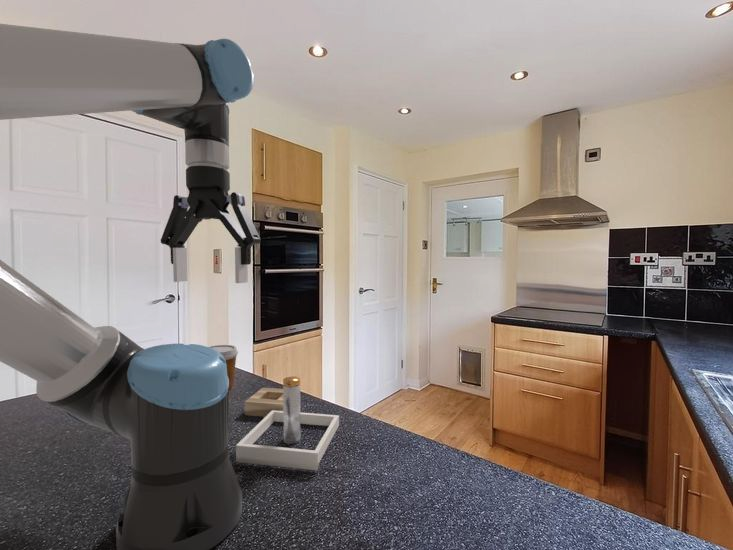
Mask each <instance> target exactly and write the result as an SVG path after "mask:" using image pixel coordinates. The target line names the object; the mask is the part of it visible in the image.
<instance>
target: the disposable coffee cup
mask: <svg viewBox="0 0 733 550" xmlns="http://www.w3.org/2000/svg"><path fill="white" fill-rule="evenodd" d="M209 347H210V348H212V349H215V350H216V351H218V352H219V353H221V354H222V356H223V357H224V359H225V361H226V365H227V376H228V378H229V392H230V391H232V390H233V388H234V378H235V370H236V361H237V356H238V354H239V351H238V350H237V347H236V346H235V345H230V344H217V345H211V346H209Z"/></svg>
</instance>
